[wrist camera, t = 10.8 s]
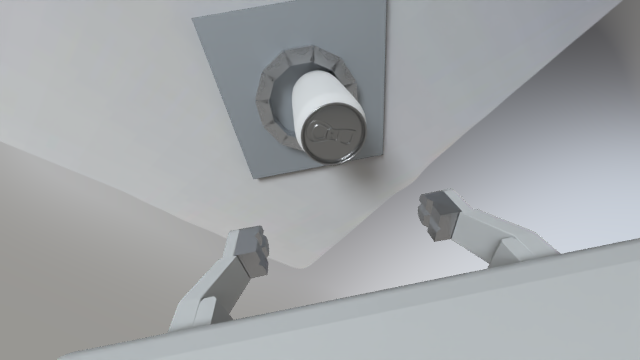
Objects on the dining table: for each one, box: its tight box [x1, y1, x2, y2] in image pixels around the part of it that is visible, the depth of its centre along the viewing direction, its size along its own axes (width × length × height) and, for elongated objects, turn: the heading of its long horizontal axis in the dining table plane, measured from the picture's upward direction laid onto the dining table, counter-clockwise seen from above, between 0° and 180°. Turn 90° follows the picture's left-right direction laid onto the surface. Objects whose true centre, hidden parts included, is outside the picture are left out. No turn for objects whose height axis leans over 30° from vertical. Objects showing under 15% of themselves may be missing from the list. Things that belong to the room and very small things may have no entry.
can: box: [292, 70, 367, 165], centre depth 24 cm, size 6×6×12 cm
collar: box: [255, 44, 358, 151], centre depth 28 cm, size 12×12×2 cm
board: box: [192, 0, 386, 179], centre depth 29 cm, size 20×20×1 cm
